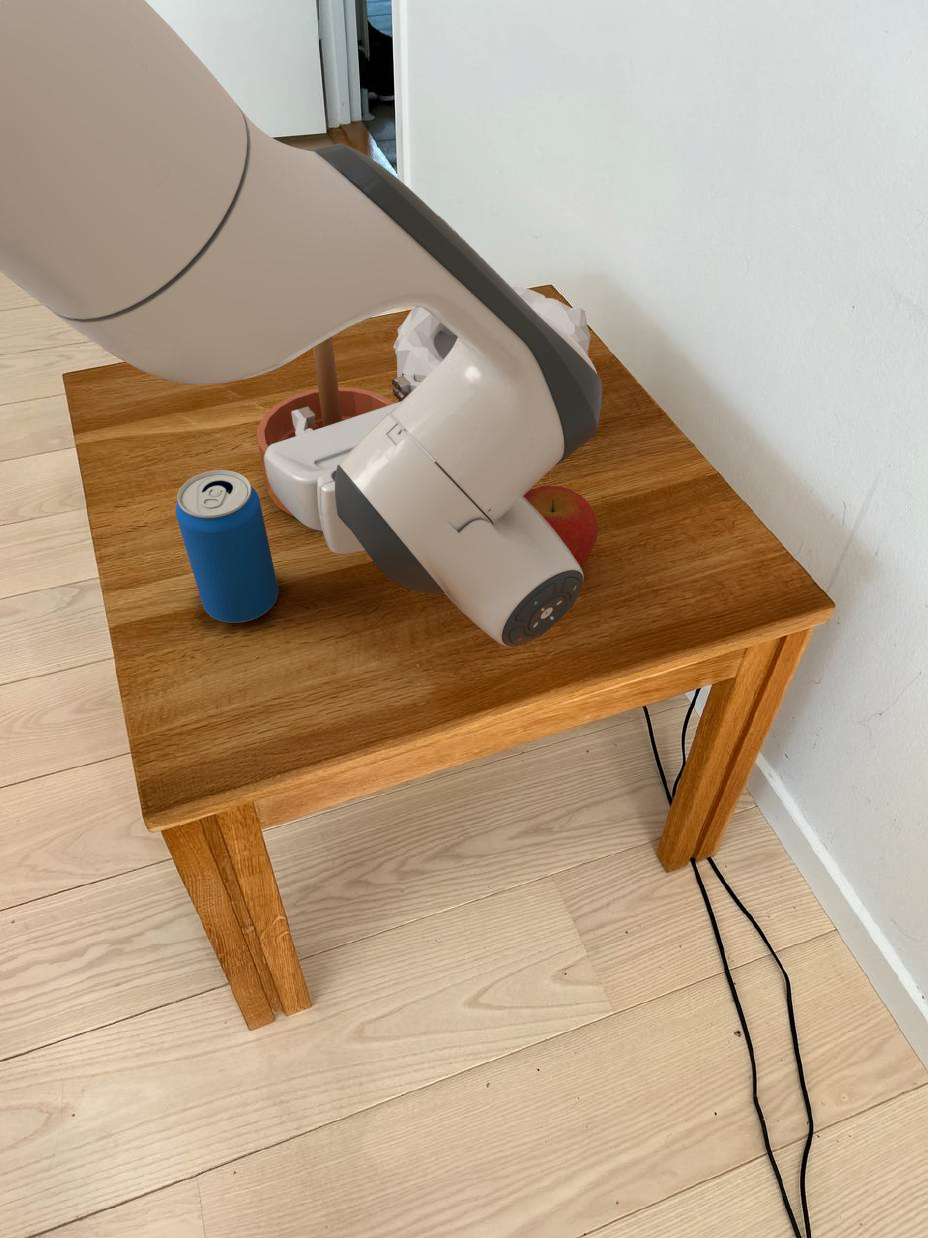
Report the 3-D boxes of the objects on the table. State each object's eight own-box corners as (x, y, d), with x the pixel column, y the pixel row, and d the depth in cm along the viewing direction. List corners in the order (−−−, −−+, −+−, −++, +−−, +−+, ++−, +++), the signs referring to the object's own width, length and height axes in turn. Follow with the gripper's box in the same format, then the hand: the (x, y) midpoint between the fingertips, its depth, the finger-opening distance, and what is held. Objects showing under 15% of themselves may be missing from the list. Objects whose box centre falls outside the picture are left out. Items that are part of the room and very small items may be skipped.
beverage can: (287, 578, 82) (265, 468, 73) (269, 631, 78) (244, 521, 69) (216, 573, 82) (186, 464, 74) (194, 626, 78) (159, 516, 69)
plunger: (338, 503, 88) (312, 305, 74) (299, 479, 91) (266, 283, 76) (380, 475, 91) (362, 280, 76) (340, 453, 94) (316, 259, 79)
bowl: (609, 454, 94) (620, 366, 87) (409, 474, 92) (404, 386, 85) (563, 349, 108) (569, 266, 101) (389, 364, 106) (383, 281, 99)
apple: (596, 596, 80) (605, 528, 74) (505, 596, 80) (507, 528, 75) (589, 537, 85) (597, 469, 80) (503, 537, 86) (506, 469, 80)
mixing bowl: (335, 548, 85) (328, 492, 80) (239, 486, 91) (226, 431, 86) (437, 478, 92) (435, 422, 87) (341, 425, 98) (335, 371, 93)
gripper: (544, 410, 72) (455, 333, 80) (304, 496, 65) (232, 402, 73) (540, 475, 77) (456, 395, 85) (315, 562, 70) (246, 466, 78)
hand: (350, 399), depth 79 cm, fingers open, 8 cm apart
